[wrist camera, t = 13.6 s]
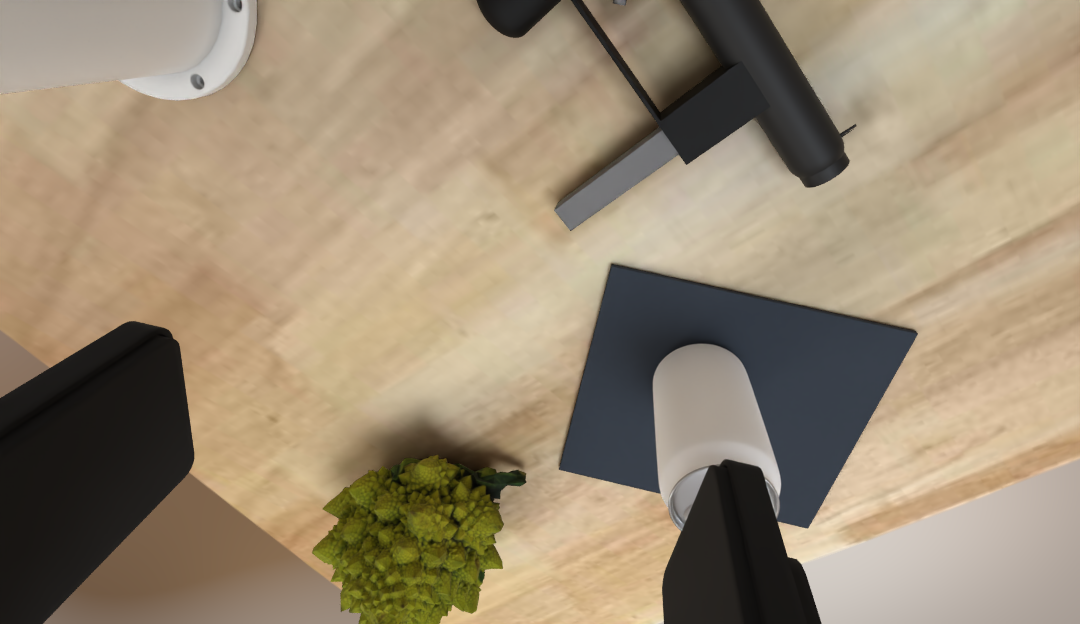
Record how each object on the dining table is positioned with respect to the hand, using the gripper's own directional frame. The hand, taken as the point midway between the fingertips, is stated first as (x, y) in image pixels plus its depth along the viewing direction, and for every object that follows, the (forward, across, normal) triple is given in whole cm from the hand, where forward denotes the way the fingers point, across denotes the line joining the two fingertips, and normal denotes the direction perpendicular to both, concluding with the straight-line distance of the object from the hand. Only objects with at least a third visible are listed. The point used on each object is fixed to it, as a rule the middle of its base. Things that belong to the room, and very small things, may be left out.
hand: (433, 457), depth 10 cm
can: (+28, -12, +14) cm, 34 cm away
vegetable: (+28, +6, +31) cm, 43 cm away
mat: (+28, -14, +16) cm, 35 cm away
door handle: (+28, -3, -4) cm, 29 cm away
